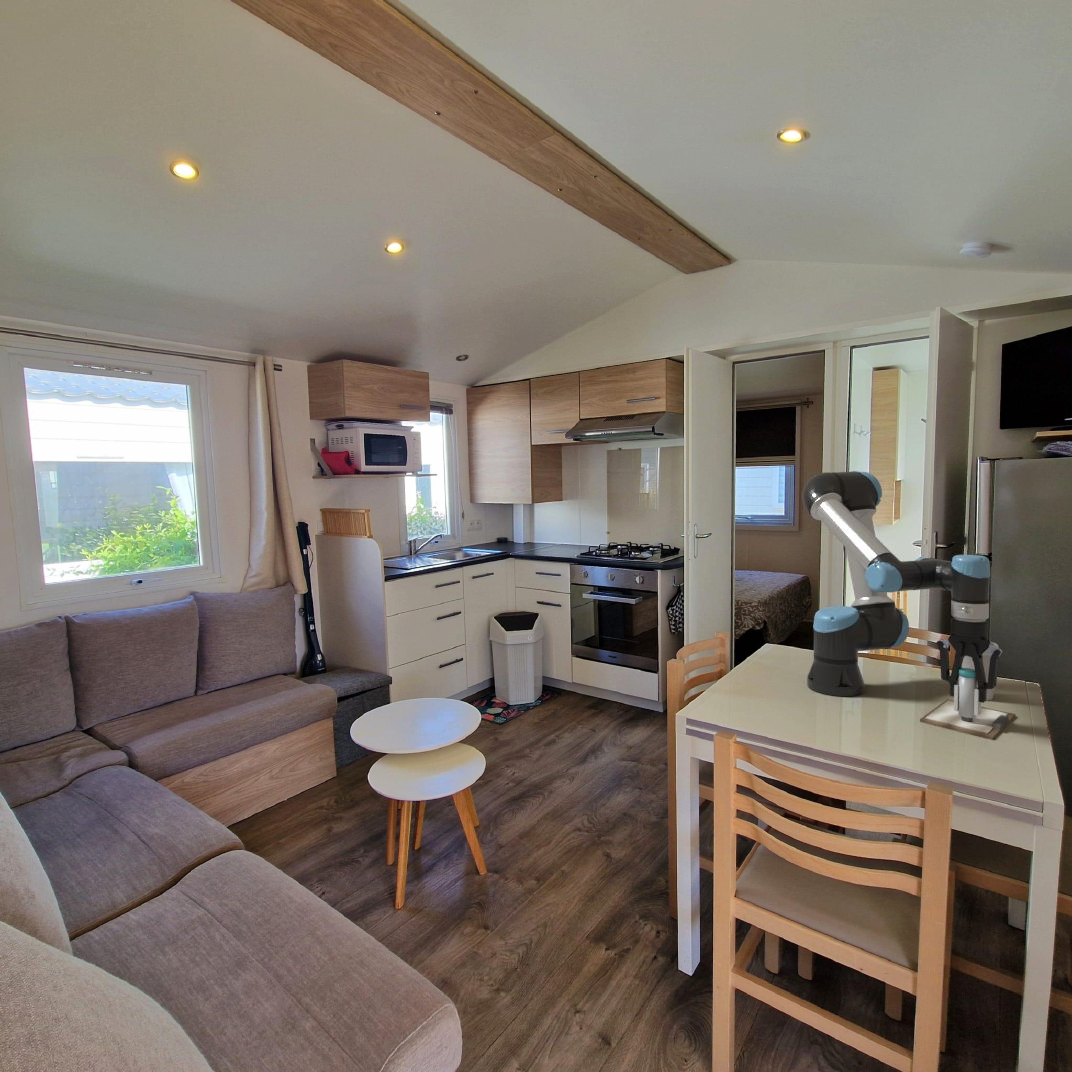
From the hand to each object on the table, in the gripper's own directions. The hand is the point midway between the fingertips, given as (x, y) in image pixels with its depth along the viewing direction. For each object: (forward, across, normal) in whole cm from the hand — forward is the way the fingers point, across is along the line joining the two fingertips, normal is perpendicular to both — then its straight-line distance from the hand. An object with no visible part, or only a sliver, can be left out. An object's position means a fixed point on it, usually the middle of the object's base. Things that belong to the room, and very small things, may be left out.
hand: (967, 711), depth 151 cm
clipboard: (+3, -1, +3) cm, 5 cm away
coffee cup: (+3, -4, +23) cm, 24 cm away
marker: (+2, 0, 0) cm, 2 cm away
